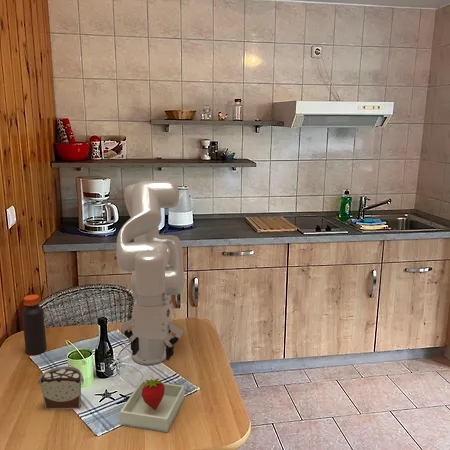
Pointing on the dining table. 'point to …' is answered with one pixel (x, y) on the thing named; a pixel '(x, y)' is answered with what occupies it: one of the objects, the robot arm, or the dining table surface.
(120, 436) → the dining table surface
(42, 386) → the food container
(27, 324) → the bottle
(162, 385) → the strawberry
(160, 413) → the serving tray
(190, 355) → the dining table surface
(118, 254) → the robot arm
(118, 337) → the dining table surface
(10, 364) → the dining table surface
